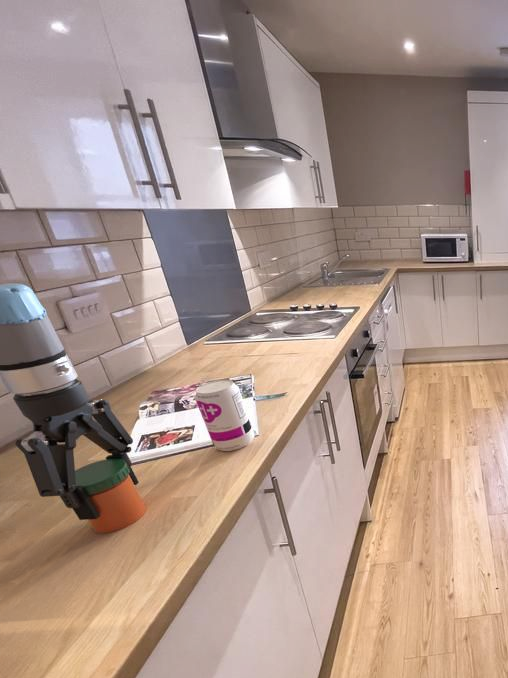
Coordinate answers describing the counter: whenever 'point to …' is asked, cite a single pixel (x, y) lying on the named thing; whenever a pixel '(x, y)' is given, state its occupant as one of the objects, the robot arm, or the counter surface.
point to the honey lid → (101, 475)
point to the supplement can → (224, 415)
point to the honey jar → (117, 507)
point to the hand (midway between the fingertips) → (111, 500)
